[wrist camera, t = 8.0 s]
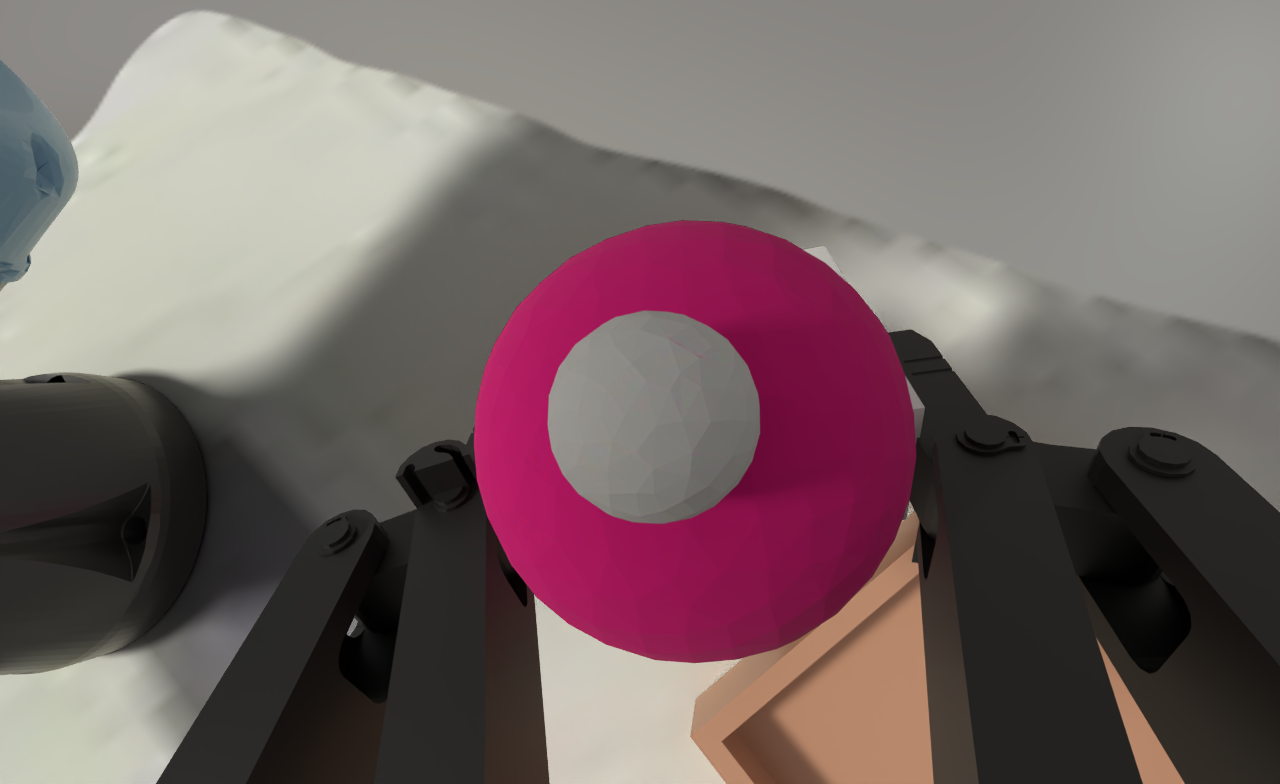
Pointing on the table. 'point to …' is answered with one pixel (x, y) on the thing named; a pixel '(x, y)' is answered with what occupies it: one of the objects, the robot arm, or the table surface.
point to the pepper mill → (694, 441)
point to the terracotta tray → (855, 697)
